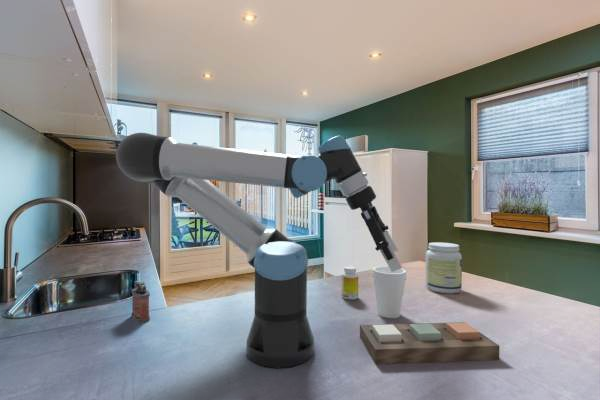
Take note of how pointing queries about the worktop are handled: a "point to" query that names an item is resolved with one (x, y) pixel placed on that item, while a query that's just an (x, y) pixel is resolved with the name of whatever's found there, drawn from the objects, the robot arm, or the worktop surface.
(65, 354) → the worktop surface
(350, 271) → the supplement bottle
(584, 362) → the worktop surface
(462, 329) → the terracotta tile
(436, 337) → the sage tile
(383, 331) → the cream tile
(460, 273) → the supplement tub
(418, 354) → the walnut board
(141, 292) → the lighter
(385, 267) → the foam cup
